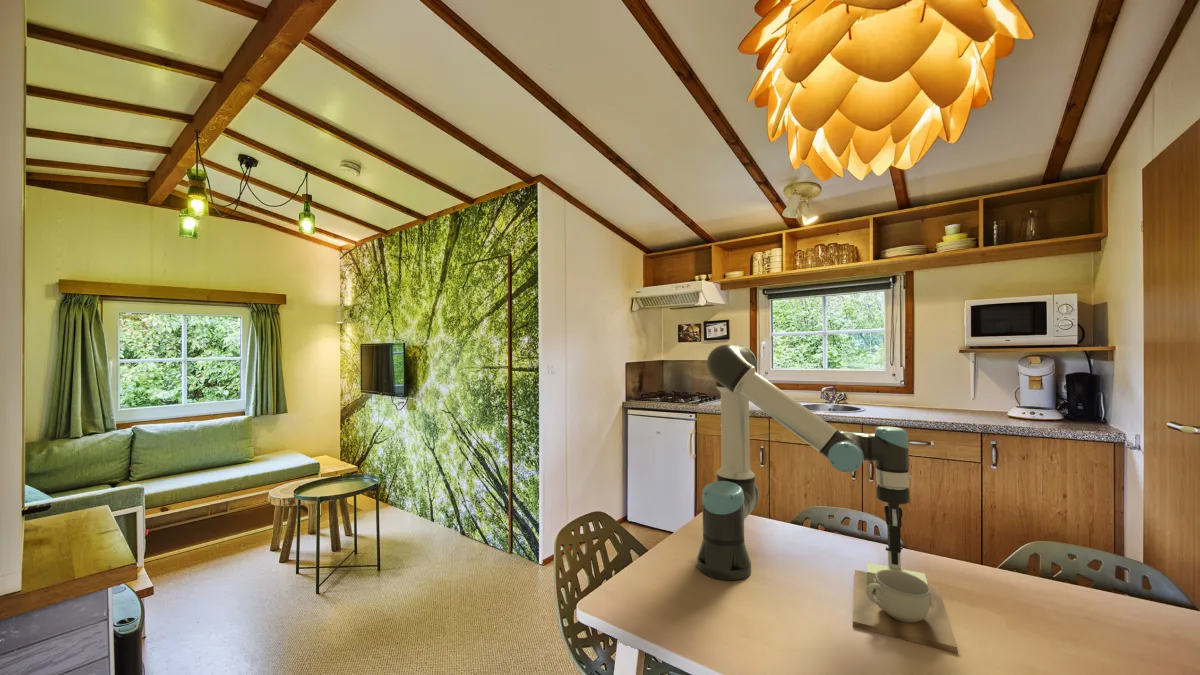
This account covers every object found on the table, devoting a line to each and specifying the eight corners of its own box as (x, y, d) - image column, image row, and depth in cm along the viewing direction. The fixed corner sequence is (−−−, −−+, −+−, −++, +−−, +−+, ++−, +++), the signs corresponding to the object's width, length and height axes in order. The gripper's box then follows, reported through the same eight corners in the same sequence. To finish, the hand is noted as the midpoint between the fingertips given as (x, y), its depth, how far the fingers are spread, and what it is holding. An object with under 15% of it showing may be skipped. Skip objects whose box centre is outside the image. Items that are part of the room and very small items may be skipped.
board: (852, 626, 105) (852, 614, 105) (854, 574, 129) (854, 564, 129) (957, 653, 95) (957, 639, 95) (938, 591, 119) (938, 580, 120)
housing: (867, 586, 120) (866, 571, 120) (867, 576, 125) (866, 562, 125) (928, 599, 113) (927, 583, 114) (925, 588, 119) (924, 573, 119)
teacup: (913, 603, 112) (912, 570, 112) (942, 630, 101) (941, 593, 101) (853, 601, 113) (853, 568, 113) (876, 627, 102) (875, 591, 102)
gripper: (911, 494, 116) (914, 589, 115) (907, 481, 127) (909, 567, 127) (877, 490, 119) (879, 582, 119) (875, 477, 131) (877, 561, 130)
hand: (894, 574), depth 123 cm, fingers closed
